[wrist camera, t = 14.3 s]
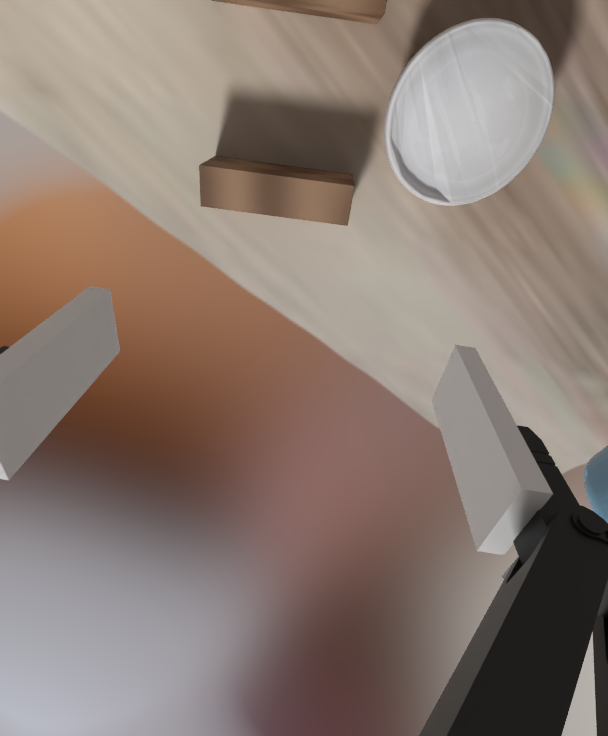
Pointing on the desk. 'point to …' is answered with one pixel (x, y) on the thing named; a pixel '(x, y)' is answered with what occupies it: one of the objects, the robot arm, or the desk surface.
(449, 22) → the desk surface
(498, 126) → the ramekin
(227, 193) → the walnut crossbar stand
